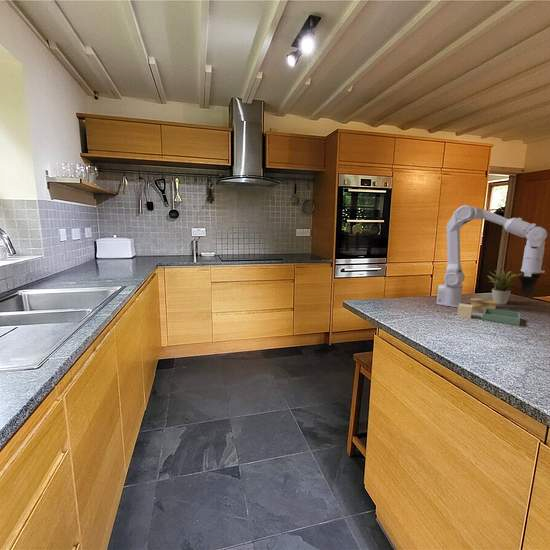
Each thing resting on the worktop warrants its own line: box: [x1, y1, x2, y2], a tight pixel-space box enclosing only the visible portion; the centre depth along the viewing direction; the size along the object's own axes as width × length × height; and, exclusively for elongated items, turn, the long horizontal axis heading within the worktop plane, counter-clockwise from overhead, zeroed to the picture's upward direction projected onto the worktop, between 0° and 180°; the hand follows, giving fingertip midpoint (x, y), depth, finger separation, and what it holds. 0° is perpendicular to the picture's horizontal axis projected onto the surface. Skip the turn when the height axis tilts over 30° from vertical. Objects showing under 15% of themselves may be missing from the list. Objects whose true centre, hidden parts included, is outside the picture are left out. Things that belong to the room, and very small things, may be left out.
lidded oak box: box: [470, 296, 498, 314], centre depth 125 cm, size 9×6×5 cm, turn 51°
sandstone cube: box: [456, 302, 473, 319], centre depth 118 cm, size 4×4×4 cm
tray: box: [481, 308, 521, 327], centre depth 114 cm, size 11×11×2 cm
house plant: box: [487, 269, 521, 305], centre depth 139 cm, size 14×14×16 cm
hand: (527, 292), depth 117 cm, fingers open, 7 cm apart
